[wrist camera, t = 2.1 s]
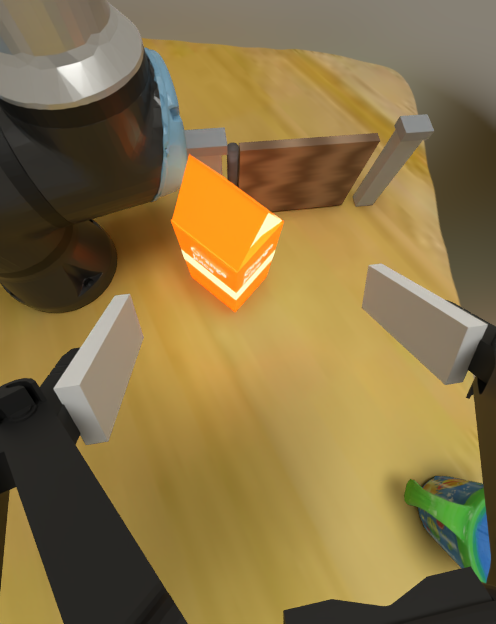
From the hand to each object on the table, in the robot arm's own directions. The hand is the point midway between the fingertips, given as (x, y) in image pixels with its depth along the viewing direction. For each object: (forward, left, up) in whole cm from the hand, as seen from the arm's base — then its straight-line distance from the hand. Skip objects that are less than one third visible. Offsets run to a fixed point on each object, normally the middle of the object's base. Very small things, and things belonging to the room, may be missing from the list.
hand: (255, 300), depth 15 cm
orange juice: (0, +12, -25) cm, 27 cm away
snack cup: (+23, -23, -25) cm, 41 cm away
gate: (+11, +23, -24) cm, 35 cm away
